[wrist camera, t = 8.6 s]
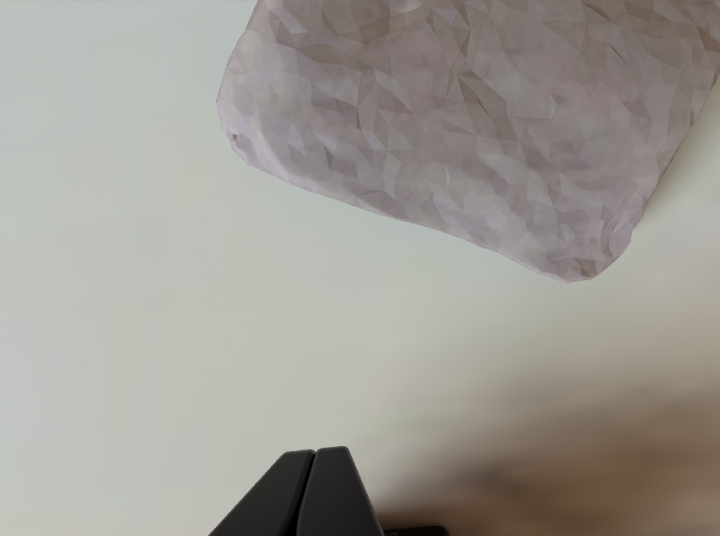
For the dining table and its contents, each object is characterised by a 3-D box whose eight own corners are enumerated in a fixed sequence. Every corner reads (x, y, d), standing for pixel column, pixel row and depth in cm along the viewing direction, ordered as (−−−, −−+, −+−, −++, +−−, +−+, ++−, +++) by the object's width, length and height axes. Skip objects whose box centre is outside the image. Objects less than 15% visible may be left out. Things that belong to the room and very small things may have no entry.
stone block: (322, -197, 17) (218, 151, 19) (320, -325, 12) (181, 156, 14) (700, -37, 18) (569, 273, 20) (829, -97, 14) (643, 314, 15)
